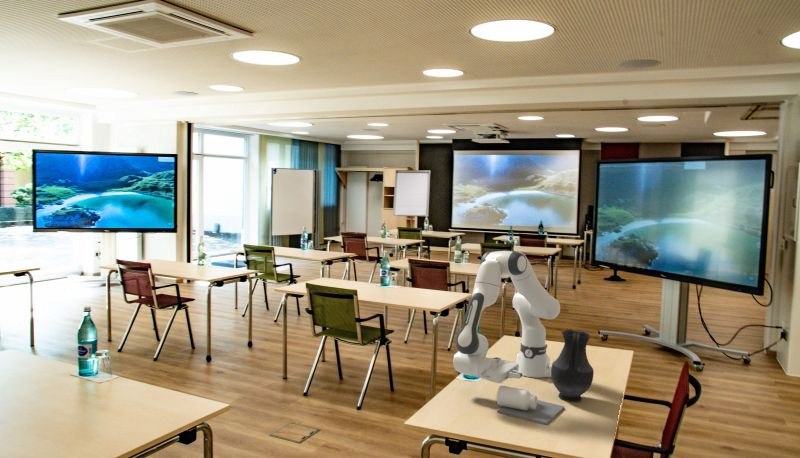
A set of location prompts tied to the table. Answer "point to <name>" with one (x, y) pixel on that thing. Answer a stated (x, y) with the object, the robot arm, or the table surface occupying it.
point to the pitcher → (572, 367)
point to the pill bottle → (516, 398)
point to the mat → (535, 412)
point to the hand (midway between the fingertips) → (521, 375)
